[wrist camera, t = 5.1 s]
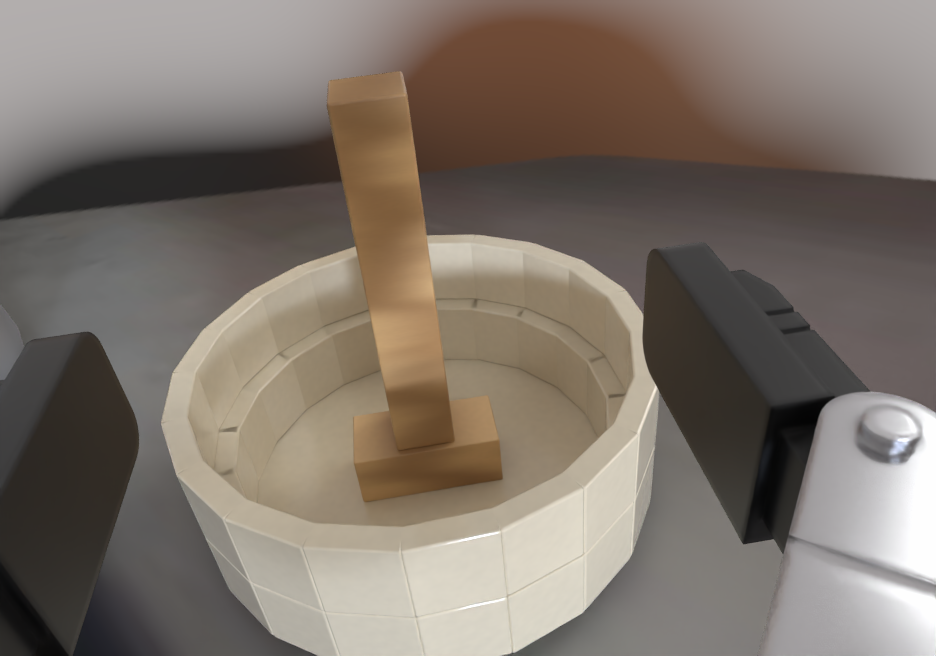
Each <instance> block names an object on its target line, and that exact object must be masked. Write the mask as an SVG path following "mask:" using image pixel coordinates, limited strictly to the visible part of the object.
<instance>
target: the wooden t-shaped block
mask: <svg viewBox="0 0 936 656" xmlns="http://www.w3.org/2000/svg"><path fill="white" fill-rule="evenodd" d="M327 109H328V115H329V119H330V124H331V129H332V134H333V138H334V144H335V149H336V154H337V158H338V163H339V168H340V173H341V178H342V183H343V188H344V193H345V198H346V203H347V207H348V212H349V217H350V222H351V227H352V232H353V237H354V242H355V247H356V251H357V256H358V261H359V266H360V271H361V276H362V281H363V286H364V291H365V295H366V300H367V305H368V310H369V315H370V320H371V325H372V330H373V335H374V339H375V344H376V349H377V354H378V359H379V364H380V369H381V374H382V379H383V383H384V388H385V393H386V398H387V403H388V408H389V411H384V412H378V413H372V414H365V415H359V416H354V417H353V447H354V466H355V470H356V474H357V478H358V482H359V486H360V490H361V494H362V498H363V501H364V502H369V501H375V500H381V499H387V498H393V497H399V496H405V495H411V494H417V493H423V492H429V491H435V490H441V489H447V488H453V487H459V486H465V485H471V484H477V483H483V482H489V481H495V480H501V479H503V474H502V463H501V452H500V440H499V436H498V432H497V428H496V424H495V420H494V415H493V411H492V407H491V403H490V399H489V396H488V395H485V396H479V397H472V398H466V399H460V400H453V401H450V400H449V393H448V386H447V379H446V371H445V364H444V357H443V350H442V343H441V335H440V328H439V321H438V314H437V306H436V299H435V292H434V285H433V278H432V270H431V263H430V256H429V249H428V241H427V234H426V227H425V220H424V213H423V205H422V198H421V191H420V184H419V176H418V169H417V162H416V155H415V148H414V140H413V133H412V126H411V119H410V111H409V104H408V97H407V92H406V88H405V83H404V78H403V74H402V72H400V71H398V72H390V73H382V74H375V75H367V76H360V77H352V78H344V79H338V80H330V81H329V83H328V95H327Z"/></svg>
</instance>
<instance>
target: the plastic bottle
mask: <svg viewBox="0 0 936 656" xmlns="http://www.w3.org/2000/svg"><path fill="white" fill-rule="evenodd" d="M23 349H24V345H23V342H22V339H21V335H20V332H19V328H18V326H17V325H16V324H15V322H14V321H13V320H12V318H11V317H10V316H9V314H8V313H7V312H6V310H5V309H4V308H3V306H2V305H1V304H0V380H5V378H6V377H7V375H8V373H9V372H10V370H11V368H12V367H13V365H14V363H15V362H16V360H17V359H18V357H19V355H20V354H21V352H22V350H23Z"/></svg>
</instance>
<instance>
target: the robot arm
mask: <svg viewBox="0 0 936 656" xmlns="http://www.w3.org/2000/svg"><path fill="white" fill-rule="evenodd" d="M642 340H643V351H644V356H645V361H646V364H647V368H648V370H649V373H650V375H651V377H652V379H653V381H654V383H655V384H656V386H657V388H658V390H659V392H660V394H661V395H662V397H663V399H664V401H665V403H666V405H667V406H668V408H669V410H670V412H671V414H672V415H673V417H674V419H675V421H676V423H677V425H678V426H679V428H680V430H681V432H682V434H683V436H684V437H685V439H686V441H687V443H688V445H689V447H690V448H691V450H692V452H693V454H694V456H695V457H696V459H697V461H698V463H699V465H700V467H701V468H702V470H703V472H704V474H705V476H706V478H707V479H708V481H709V483H710V485H711V487H712V488H713V490H714V492H715V494H716V496H717V498H718V499H719V501H720V503H721V505H722V507H723V509H724V510H725V512H726V514H727V516H728V518H729V520H730V521H731V523H732V525H733V527H734V529H735V530H736V532H737V534H738V536H739V538H740V540H741V541H742V543H743V544H748V543H754V542H759V541H765V540H771V539H774V540H775V541H776V543H777V545H778V547H779V548H780V550H781V552H782V553H783V558H782V562H781V566H780V570H779V574H778V578H777V582H776V585H775V589H774V593H773V597H772V601H771V605H770V609H769V613H768V617H767V620H766V624H765V628H764V632H763V636H762V640H761V644H760V648H759V652H758V655H757V656H936V413H935V412H933V411H932V410H930V409H929V408H927V407H925V406H923V405H921V404H919V403H917V402H914V401H911V400H909V399H906V398H903V397H899V396H896V395H891V394H886V393H879V392H870V391H869V389H868V388H867V387H866V386H865V385H864V384H863V383H862V382H861V381H860V380H859V379H858V377H857V376H856V375H855V374H854V373H853V372H852V371H851V370H850V369H849V368H848V367H847V365H846V364H845V363H844V362H843V361H842V360H841V359H840V358H839V357H838V356H837V355H836V353H835V352H834V351H833V350H832V349H831V348H830V347H829V346H828V345H827V344H826V342H825V341H824V340H823V339H822V338H821V337H820V336H819V335H818V334H817V333H816V332H815V330H810V325H809V324H808V323H807V322H806V321H805V320H804V318H803V317H802V316H801V315H800V314H799V313H798V312H794V309H793V306H792V305H791V304H790V303H789V302H788V301H787V300H786V299H785V298H784V297H783V295H782V294H781V293H780V292H779V291H778V290H777V289H776V288H775V287H774V286H773V285H771V284H769V283H767V282H765V281H763V280H762V279H760V278H758V277H756V276H754V275H752V274H750V273H749V272H747V271H745V270H737V271H731V272H730V271H729V270H728V268H727V267H726V266H725V265H724V264H723V263H722V261H721V260H720V259H719V258H718V257H717V255H716V254H715V253H714V252H713V251H712V250H711V248H710V247H709V246H708V245H707V244H706V243H704V242H698V243H692V244H685V245H678V246H671V247H665V248H658V249H653V250H652V251H651V252H650V253H649V256H648V260H647V269H646V285H645V301H644V317H643V333H642ZM138 449H139V433H138V426H137V421H136V418H135V415H134V412H133V410H132V408H131V406H130V404H129V401H128V399H127V397H126V395H125V393H124V391H123V389H122V387H121V385H120V382H119V380H118V378H117V376H116V374H115V372H114V370H113V368H112V366H111V363H110V361H109V359H108V357H107V355H106V353H105V351H104V349H103V346H102V345H101V343H100V341H99V340H98V338H97V337H96V336H95V335H94V334H92V333H90V332H81V333H74V334H68V335H61V336H54V337H47V338H41V339H34V340H31V341H29V342H28V343H27V344H26V346H25V347H24V349H23V350H22V352H21V354H20V355H19V357H18V359H17V360H16V362H15V363H14V365H13V367H12V368H11V370H10V372H9V373H8V375H7V377H6V378H5V380H0V656H72V655H73V652H74V649H75V646H76V643H77V640H78V637H79V634H80V631H81V628H82V625H83V621H84V618H85V615H86V612H87V609H88V606H89V603H90V600H91V597H92V594H93V591H94V588H95V584H96V581H97V578H98V575H99V572H100V569H101V566H102V563H103V560H104V557H105V554H106V551H107V547H108V544H109V541H110V538H111V535H112V532H113V529H114V526H115V523H116V520H117V517H118V514H119V510H120V507H121V504H122V501H123V498H124V495H125V492H126V489H127V486H128V483H129V480H130V477H131V473H132V470H133V467H134V464H135V461H136V458H137V454H138Z"/></svg>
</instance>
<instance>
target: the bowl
mask: <svg viewBox="0 0 936 656" xmlns="http://www.w3.org/2000/svg"><path fill="white" fill-rule="evenodd" d="M427 241H428V249H429V256H430V263H431V270H432V278H433V285H434V292H435V299H436V306H437V314H438V321H439V328H440V335H441V343H442V350H443V357H444V364H445V371H446V379H447V386H448V393H449V400H450V401H453V400H460V399H466V398H472V397H479V396H485V395H488V396H489V399H490V403H491V407H492V411H493V415H494V420H495V424H496V428H497V432H498V436H499V440H500V452H501V463H502V474H503V479H501V480H495V481H489V482H483V483H477V484H471V485H465V486H459V487H453V488H447V489H441V490H435V491H429V492H423V493H417V494H411V495H405V496H399V497H393V498H387V499H381V500H375V501H369V502H364V501H363V498H362V494H361V490H360V486H359V482H358V478H357V474H356V470H355V466H354V447H353V417H354V416H359V415H365V414H372V413H378V412H384V411H389V408H388V403H387V398H386V393H385V388H384V383H383V379H382V374H381V369H380V364H379V359H378V354H377V349H376V344H375V339H374V335H373V330H372V325H371V320H370V315H369V310H368V305H367V300H366V295H365V291H364V286H363V281H362V276H361V271H360V266H359V261H358V256H357V251H356V247H352V248H349V249H346V250H343V251H340V252H337V253H334V254H331V255H328V256H325V257H322V258H319V259H316V260H313V261H310V262H307V263H304V264H302V265H298V266H296V267H294V268H293V269H291V270H289V271H287V272H285V273H283V274H281V275H279V276H277V277H276V278H274V279H272V280H270V281H268V282H266V283H264V284H262V285H260V286H259V287H257V288H255V289H253V290H251V291H249V292H248V293H247V294H245V295H244V296H243V297H242V298H241V299H239V300H238V301H237V302H236V303H234V304H233V305H232V306H231V307H230V308H228V309H227V310H226V311H225V312H224V313H222V314H221V315H220V316H219V317H217V318H216V319H215V320H214V321H213V322H211V323H210V324H209V325H208V326H207V327H205V329H203V330H202V331H201V333H200V334H199V335H198V337H197V338H196V340H195V341H194V343H193V344H192V345H191V347H190V348H189V350H188V351H187V353H186V354H185V355H184V357H183V358H182V360H181V361H180V363H179V364H178V365H177V367H176V368H175V370H174V371H173V374H172V376H171V381H170V385H169V389H168V394H167V398H166V403H165V407H164V411H163V416H162V420H161V427H162V430H163V434H164V437H165V440H166V444H167V447H168V450H169V454H170V457H171V460H172V464H173V467H174V470H175V474H176V476H177V478H178V480H179V482H180V485H181V487H182V489H183V491H184V493H185V495H186V498H187V500H188V502H189V504H190V506H191V508H192V510H193V513H194V515H195V517H196V519H197V521H198V523H199V526H200V528H201V530H202V532H203V534H204V536H205V538H206V541H207V543H208V545H209V547H210V549H211V551H212V554H213V556H214V558H215V560H216V562H217V564H218V566H219V569H220V571H221V573H222V575H223V577H224V579H225V582H226V584H227V586H228V588H229V589H230V591H231V592H232V593H233V594H234V595H235V597H236V598H237V599H238V600H239V601H240V602H241V603H242V604H243V605H244V606H245V607H246V608H247V609H248V610H249V611H250V612H251V613H252V614H253V615H254V616H255V617H256V619H257V620H258V621H259V622H260V623H261V624H262V625H263V626H264V627H265V628H266V629H267V630H268V631H269V632H270V633H271V634H272V635H275V637H277V638H279V639H281V640H283V641H286V642H288V643H290V644H293V645H295V646H297V647H299V648H302V649H304V650H306V651H309V652H311V653H313V654H316V655H318V656H503V655H507V654H511V653H512V652H513V653H515V652H517V651H519V650H520V649H522V648H524V647H526V646H527V645H529V644H531V643H532V642H534V641H536V640H538V639H539V638H541V637H543V636H544V635H546V634H548V633H549V632H551V631H553V630H555V629H556V628H558V627H560V626H561V625H563V624H565V623H567V622H568V621H570V620H572V619H573V618H575V617H577V616H578V615H580V614H582V613H583V612H584V610H586V609H587V608H588V607H589V605H590V604H591V603H592V602H593V601H594V600H595V598H596V597H597V596H598V595H599V594H600V593H601V591H602V590H603V589H604V588H605V587H606V586H607V584H608V583H609V582H610V581H611V580H612V579H613V577H614V576H615V575H616V574H617V573H618V572H619V570H620V569H621V568H622V567H623V566H624V565H625V564H626V562H627V561H628V560H629V559H630V556H631V555H632V554H633V551H634V548H635V545H636V542H637V539H638V536H639V533H640V530H641V527H642V524H643V521H644V518H645V515H646V512H647V509H648V506H649V503H650V499H651V488H652V476H653V464H654V452H655V440H656V428H657V416H658V404H659V390H658V388H657V386H656V384H655V383H654V381H653V379H652V377H651V375H650V373H649V370H648V368H647V364H646V361H645V356H644V351H643V340H642V333H643V317H644V315H643V314H642V312H641V311H640V309H639V308H638V307H637V305H636V304H635V302H634V301H633V299H632V298H631V297H630V295H629V294H628V292H627V291H625V289H624V288H623V287H621V286H620V285H618V284H617V283H615V282H614V281H612V280H611V279H609V278H608V277H607V276H605V275H604V274H602V273H601V272H599V271H598V270H596V269H595V268H593V267H592V266H591V265H589V264H588V263H586V262H583V261H582V260H580V259H577V258H574V257H572V256H569V255H566V254H563V253H560V252H557V251H555V250H552V249H549V248H546V247H543V246H541V245H538V244H535V243H531V242H524V241H517V240H511V239H504V238H497V237H490V236H483V235H476V236H475V235H427Z"/></svg>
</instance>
